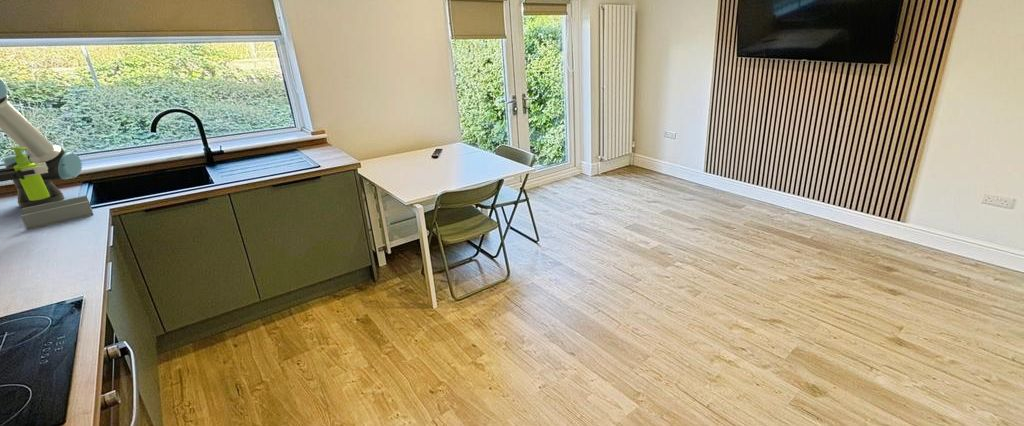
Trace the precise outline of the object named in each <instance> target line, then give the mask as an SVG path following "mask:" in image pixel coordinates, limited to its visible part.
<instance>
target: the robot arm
mask: <svg viewBox="0 0 1024 426" xmlns="http://www.w3.org/2000/svg"><path fill="white" fill-rule="evenodd" d="M6 86H7V85H6V83H5V80H3V79H2V78H1V77H0V130H2V132H4V134H6V135H7V136H8V137H10V139H11V140H12V141H14V142H15V143H16V144H17V145H18V147H26V148H28V149H27V150H24V151H25V152H22V154H24V155H27V157H28V159H29V162H30V163H35V164H36V166H37V167H32V168H27V169H21V170H18V171H15V170H14V166H16V165H17V163H16V161H15V159H14V157H15V156H16V154H13V155H9V156H7V157H5V158H4V159H3V162H4V166H5V167H4V168H0V183H2V182H8V181H12V182H13V184H14V186H15V188H16V190H17V205H18V206H19V208H21V209H22V208H27V207H32V206H37V205H41V204H46V203H51V202H56V201H61V200H65V195H64V193H63V192H62V190H60V189H59V188H58V187H57V186H56V185H55V184H54V183H53V181H56V180H69V179H74V178H76V177H78V176H79V175H80V174H81V172H82V168H83V167H82V166H83V165H82V164H83V163H82V160H81V158H80V157H79V155H77V154H76V153H74V152H71V151H68V152H66V151H65V149H63V148H62V147H61V146H60V145H57V144H52V143H51V142H50V140H48V139H47V138H46V137H45V136H44V135H43V134H42V133H41V132H40V131H39V130H38V129H37V128H36V127H35V126H34V125H33V124H32V123H30V121H29V120H28V119H27V118H26V117H25V116H23V115H22V113H20V112H19V111H18V110H17V108H15V107H14V106H13V105H12V104H11V103H10V102H9V101H8V100H9V95H8V94H7V93H8V88H7V87H6ZM37 174H40V175H41V177H42V179H43V181H44V183H45V186H46V188H47V190H48V192H49V194H50V196H49V197H48V198H45V199H41V200H34V201H31V200H29V199H28V197H27V195H26V192H25V190H24V188H23V186H22V184H21V182H20V180H19V179H25V178H24V177H26V176H32V175H37ZM52 180H53V181H52Z"/></svg>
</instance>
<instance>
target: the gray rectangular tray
mask: <svg viewBox="0 0 1024 426" xmlns="http://www.w3.org/2000/svg"><path fill="white" fill-rule="evenodd" d="M91 207H92V205H91V203H90V201H89V199H88V196H87V195H81V196H76V197H72V198H66V199H62V200H60V201H56V202H51V203H46V204H41V205H37V206H32V207H27V208H21V210H22V213H23V214H21V215H20V218H21V220H22V221H23V222H22V223H23V224H24V225H25V228H26V230H27V231H29V230H34V229H38V228H43V227H46V226H51V225H54V224H55V225H56V224H59V223H64V222H68V221H73V220H78V219H81V218H86V216H87V217H90V216H89V215H91V216H94V212H93V207H92V208H91Z"/></svg>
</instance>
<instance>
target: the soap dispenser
mask: <svg viewBox="0 0 1024 426" xmlns="http://www.w3.org/2000/svg"><path fill="white" fill-rule="evenodd" d="M27 149H28V148H26V147H20V146H14V147H10V150H11V151H14V153H15V154H14V155H16V156H15V157H14V159H15V161H16V163H17V165H16V166H14V170H15V171H18V170H21V169H27V168H32V167H37V166H36V164H35V163H30V162H29V159H28V157H27V155H24V154H22V153H23V151H25V150H27ZM24 178H25V179H19V180H20V182H21V184H22V186H23V188H24V190H25V192H26V195H27V197H28V199H29V200H31V201H34V200H41V199H45V198H48V197H49V196H50V194H49V192H48V190H47V188H46V186H45V183H44V181H43V179H42V177H41V175H40V174H37V175H32V176H26V177H24Z"/></svg>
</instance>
